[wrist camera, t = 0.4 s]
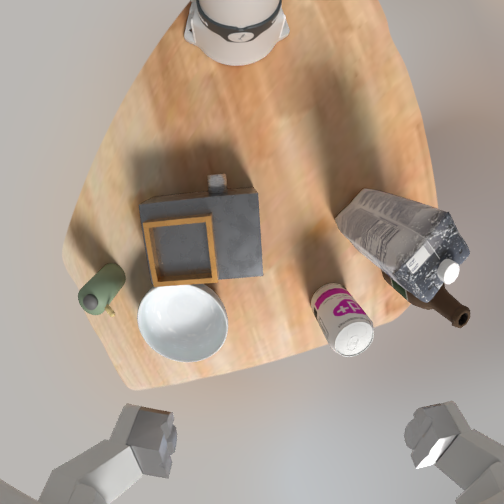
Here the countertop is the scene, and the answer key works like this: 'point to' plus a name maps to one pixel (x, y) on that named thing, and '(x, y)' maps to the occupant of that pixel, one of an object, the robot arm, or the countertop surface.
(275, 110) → the countertop surface
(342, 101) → the countertop surface
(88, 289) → the oil can
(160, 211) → the box
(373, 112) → the countertop surface
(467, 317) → the beer bottle
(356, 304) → the supplement can
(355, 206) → the juice carton
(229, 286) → the countertop surface
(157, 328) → the cereal bowl
